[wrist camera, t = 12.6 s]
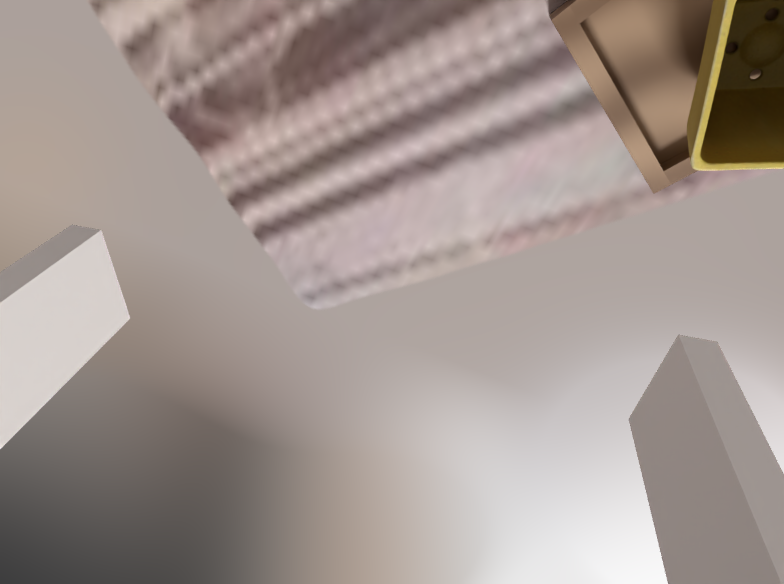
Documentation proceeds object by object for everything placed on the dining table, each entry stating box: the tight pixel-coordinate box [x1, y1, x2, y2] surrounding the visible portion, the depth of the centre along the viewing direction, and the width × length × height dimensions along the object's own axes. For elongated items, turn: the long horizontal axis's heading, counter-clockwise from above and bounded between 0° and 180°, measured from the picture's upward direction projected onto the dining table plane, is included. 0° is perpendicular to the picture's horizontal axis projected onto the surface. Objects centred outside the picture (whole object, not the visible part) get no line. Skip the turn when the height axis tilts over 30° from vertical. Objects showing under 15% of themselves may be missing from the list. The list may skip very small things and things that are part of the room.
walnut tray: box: [549, 0, 778, 193], centre depth 29 cm, size 14×14×2 cm
